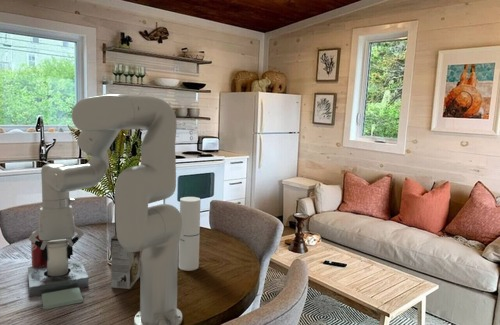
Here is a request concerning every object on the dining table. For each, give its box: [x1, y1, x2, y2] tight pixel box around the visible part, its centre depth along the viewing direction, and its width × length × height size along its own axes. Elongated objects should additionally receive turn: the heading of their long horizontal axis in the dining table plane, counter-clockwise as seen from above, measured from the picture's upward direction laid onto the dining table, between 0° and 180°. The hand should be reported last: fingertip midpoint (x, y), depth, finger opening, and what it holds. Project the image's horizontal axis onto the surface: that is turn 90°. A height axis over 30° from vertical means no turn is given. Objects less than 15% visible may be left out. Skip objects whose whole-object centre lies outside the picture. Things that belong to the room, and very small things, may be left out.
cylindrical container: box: [178, 196, 202, 272], centre depth 137 cm, size 7×7×25 cm
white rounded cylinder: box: [47, 239, 69, 277], centre depth 122 cm, size 6×6×10 cm
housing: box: [27, 259, 89, 298], centre depth 123 cm, size 16×16×3 cm
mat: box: [41, 287, 84, 310], centre depth 112 cm, size 8×10×1 cm
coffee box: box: [110, 233, 141, 290], centre depth 123 cm, size 9×6×16 cm
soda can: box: [30, 230, 51, 267], centre depth 134 cm, size 7×7×12 cm
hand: (57, 258), depth 122 cm, fingers closed on white rounded cylinder, 6 cm apart
